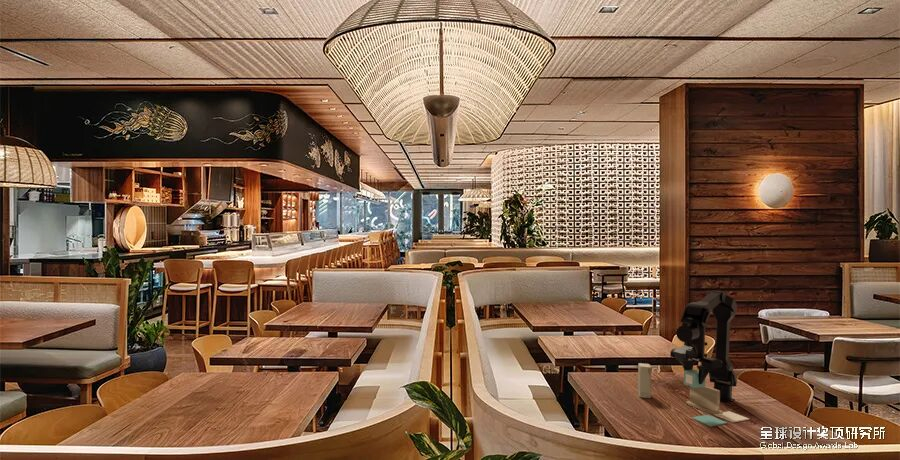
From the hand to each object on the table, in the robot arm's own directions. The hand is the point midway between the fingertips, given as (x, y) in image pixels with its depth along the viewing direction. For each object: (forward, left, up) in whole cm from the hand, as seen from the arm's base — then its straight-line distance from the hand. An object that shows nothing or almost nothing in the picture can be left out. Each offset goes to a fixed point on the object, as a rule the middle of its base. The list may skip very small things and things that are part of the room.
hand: (694, 381), depth 199 cm
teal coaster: (0, +7, -12) cm, 14 cm away
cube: (0, 0, -1) cm, 1 cm away
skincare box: (+1, -23, -12) cm, 26 cm away
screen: (-9, -3, -12) cm, 15 cm away
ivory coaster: (-11, +7, -12) cm, 17 cm away
